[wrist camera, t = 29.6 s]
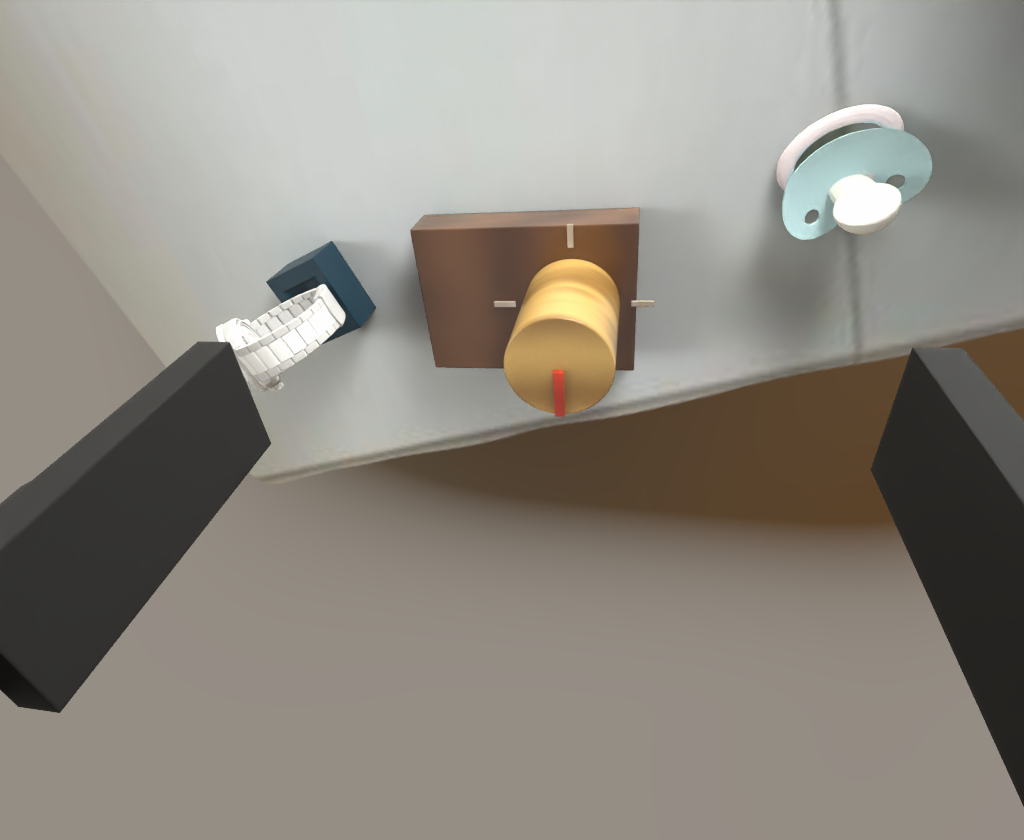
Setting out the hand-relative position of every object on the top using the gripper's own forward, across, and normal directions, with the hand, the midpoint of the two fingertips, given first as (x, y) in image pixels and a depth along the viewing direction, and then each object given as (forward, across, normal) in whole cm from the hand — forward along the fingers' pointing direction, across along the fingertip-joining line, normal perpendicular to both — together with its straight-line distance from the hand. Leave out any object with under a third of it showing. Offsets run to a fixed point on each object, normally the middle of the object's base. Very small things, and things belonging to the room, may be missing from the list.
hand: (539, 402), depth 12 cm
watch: (+29, -20, -10) cm, 37 cm away
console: (+29, -5, -10) cm, 31 cm away
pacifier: (+29, +13, -3) cm, 32 cm away
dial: (+26, -2, -10) cm, 28 cm away
